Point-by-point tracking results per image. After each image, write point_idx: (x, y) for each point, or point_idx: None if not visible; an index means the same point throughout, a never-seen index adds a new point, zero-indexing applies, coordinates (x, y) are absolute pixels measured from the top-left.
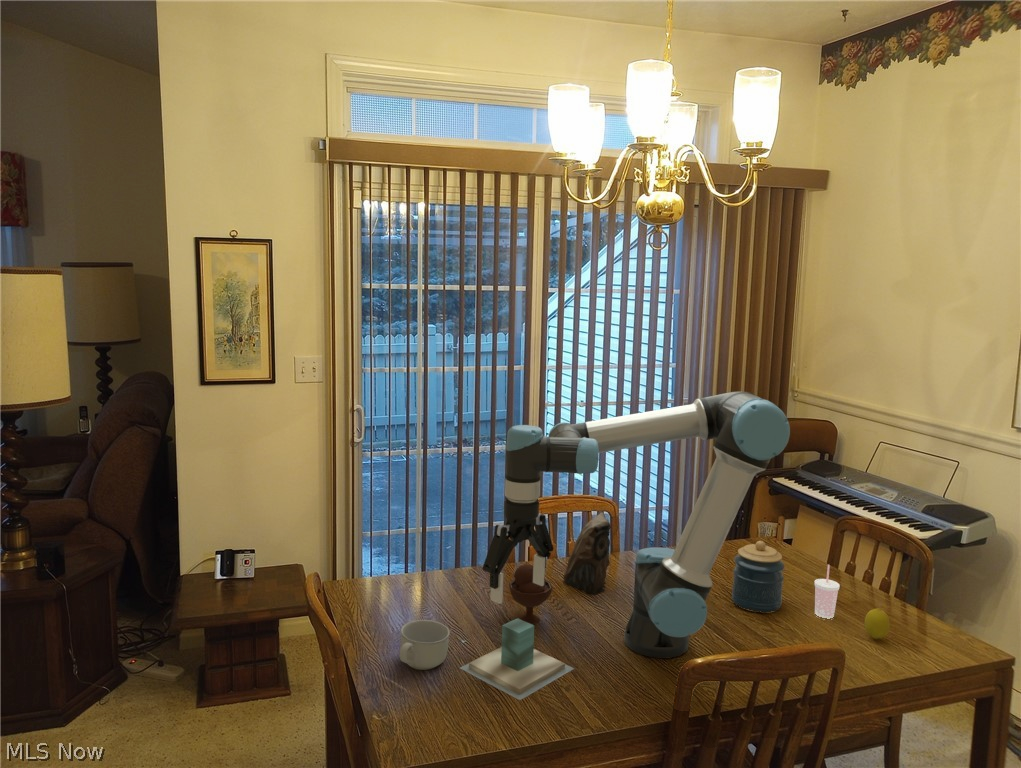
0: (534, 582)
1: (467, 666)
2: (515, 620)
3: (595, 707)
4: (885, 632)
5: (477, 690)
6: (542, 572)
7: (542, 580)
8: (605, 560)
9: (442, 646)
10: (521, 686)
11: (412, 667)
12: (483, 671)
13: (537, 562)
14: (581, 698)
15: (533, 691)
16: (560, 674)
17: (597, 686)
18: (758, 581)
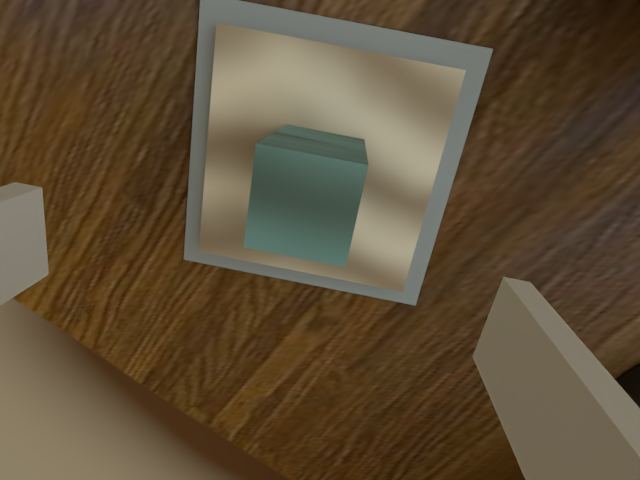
0: (500, 295)
1: (226, 13)
2: (340, 169)
3: (284, 402)
4: None
5: (150, 129)
6: (511, 444)
7: (488, 388)
8: None
9: None
10: (212, 249)
11: None
12: (211, 100)
13: (582, 466)
14: (298, 366)
15: (241, 268)
16: (362, 288)
17: (370, 376)
18: None
